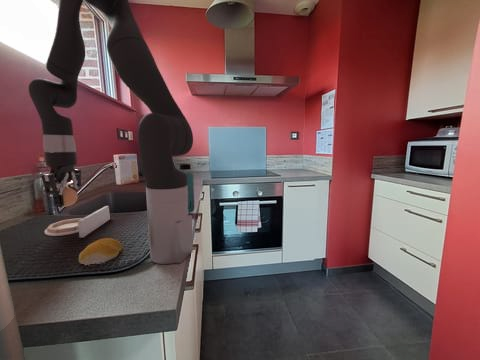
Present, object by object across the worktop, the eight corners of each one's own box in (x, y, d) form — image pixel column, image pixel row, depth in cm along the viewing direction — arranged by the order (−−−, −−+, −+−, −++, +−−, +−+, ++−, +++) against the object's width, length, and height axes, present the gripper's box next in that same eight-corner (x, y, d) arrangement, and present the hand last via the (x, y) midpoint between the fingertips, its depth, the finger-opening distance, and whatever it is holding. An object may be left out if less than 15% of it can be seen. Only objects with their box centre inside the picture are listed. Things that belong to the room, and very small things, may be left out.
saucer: (100, 223, 73) (100, 219, 73) (64, 237, 62) (63, 232, 62) (74, 220, 76) (73, 216, 76) (34, 233, 65) (33, 228, 65)
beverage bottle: (182, 211, 88) (180, 162, 85) (197, 212, 86) (196, 163, 83) (174, 216, 81) (172, 164, 78) (190, 217, 80) (189, 164, 77)
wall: (107, 219, 78) (105, 206, 77) (109, 219, 78) (108, 205, 77) (79, 237, 62) (77, 221, 61) (83, 237, 62) (81, 221, 61)
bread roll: (125, 246, 57) (124, 232, 57) (113, 264, 49) (112, 247, 48) (90, 249, 55) (88, 235, 55) (72, 268, 47) (70, 251, 46)
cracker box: (133, 181, 160) (131, 153, 157) (139, 182, 158) (137, 154, 154) (115, 184, 148) (113, 154, 145) (121, 185, 145) (118, 154, 142)
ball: (83, 204, 70) (81, 186, 69) (64, 209, 64) (61, 190, 64) (69, 203, 72) (67, 185, 71) (49, 207, 66) (47, 188, 65)
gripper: (63, 150, 72) (69, 198, 75) (26, 151, 58) (35, 210, 60) (87, 150, 73) (92, 198, 75) (56, 151, 59) (63, 210, 61)
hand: (66, 203), depth 68 cm, fingers closed on ball, 6 cm apart
